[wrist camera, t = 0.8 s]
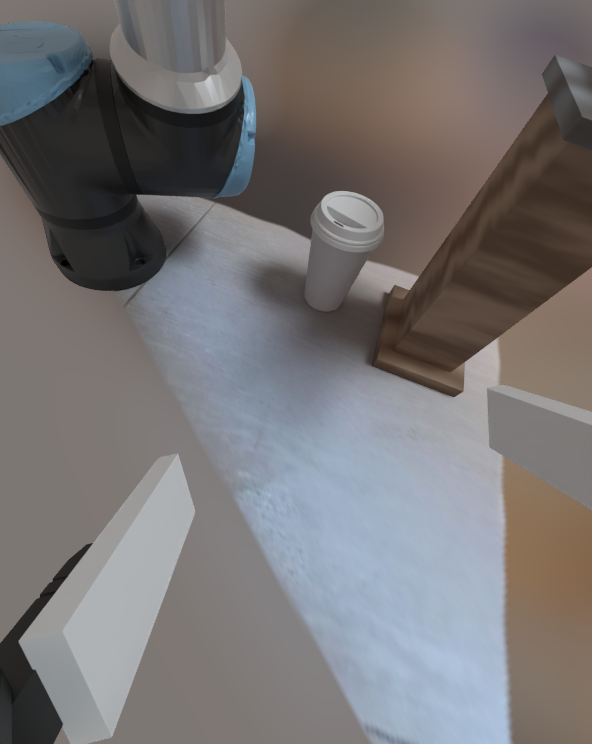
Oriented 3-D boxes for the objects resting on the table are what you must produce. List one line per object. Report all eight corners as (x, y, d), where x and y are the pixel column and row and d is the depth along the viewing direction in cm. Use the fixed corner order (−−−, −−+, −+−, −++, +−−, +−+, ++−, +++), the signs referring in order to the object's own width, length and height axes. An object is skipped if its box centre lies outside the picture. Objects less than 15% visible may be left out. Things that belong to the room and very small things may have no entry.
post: (454, 396, 43) (783, 193, 17) (372, 365, 43) (569, 117, 17) (459, 319, 51) (688, 98, 25) (389, 293, 51) (542, 47, 25)
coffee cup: (283, 286, 48) (298, 195, 35) (328, 269, 51) (357, 181, 38) (316, 328, 45) (347, 246, 32) (362, 306, 48) (405, 225, 35)
